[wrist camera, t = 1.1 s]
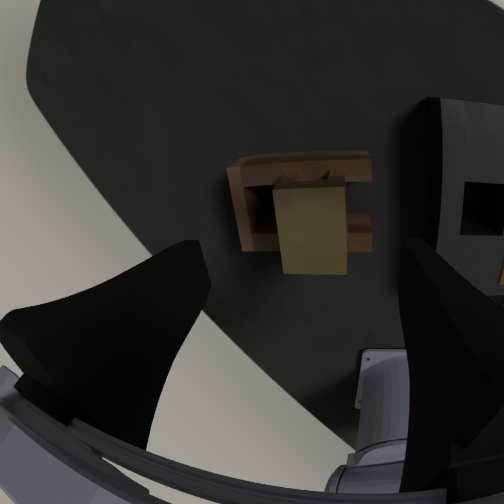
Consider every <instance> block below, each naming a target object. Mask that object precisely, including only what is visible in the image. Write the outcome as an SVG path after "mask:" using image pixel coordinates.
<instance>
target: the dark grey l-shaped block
mask: <svg viewBox="0 0 504 504" xmlns="http://www.w3.org/2000/svg"><path fill="white" fill-rule="evenodd" d="M426 99H427V111H428V127H429V198H428V215H427V228H426V239H425V242H426V243H427V244H428V245H430V246H431V247H432V248H433V249H434V250H435V251H436V252H437V253H438V254H439V255H440V256H441V257H442V258H443V259H444V260H445V261H446V262H448V263H449V264H450V265H451V266H452V267H453V268H454V269H455V270H456V271H457V272H458V273H460V274H461V275H462V276H463V277H464V278H465V279H466V280H468V281H469V282H470V283H471V284H472V285H473V286H475V287H476V288H477V289H478V290H480V291H481V292H482V293H484V294H485V295H486V296H492V295H504V106H502V105H496V104H490V103H483V102H475V101H467V100H458V99H447V98H434V97H426ZM465 182H482V183H489V194H488V203H487V211H486V216H468V215H462V209H463V198H464V184H465Z"/></svg>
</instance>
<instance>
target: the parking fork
mask: <svg viewBox="0 0 504 504" xmlns="http://www.w3.org/2000/svg"><path fill="white" fill-rule="evenodd" d="M330 169H345V172H346V182H362V181H372V168H371V158H370V155H369V152H368V149H348V150H323V151H305V152H290V153H278V154H266V155H256V156H246V157H242V158H240V159H239V160H237V161H236V162H235V163H233V164H232V165H230V166H229V167H227V168H226V170H227V175H228V180H229V185H230V191H231V196H232V201H233V206H234V211H235V216H236V221H237V226H238V231H239V237H240V242H241V247H242V251H281V250H280V243H279V235H278V228H277V221H276V215H264V211H263V205H262V198H261V192H260V186H262V185H276V184H277V183H278V181H279V180H280V179H281V177H282V176H283V175H284V174H285V172H289V171H301V179H302V181H310V180H328V177H329V173H330ZM348 235H349V248H348V252H372V240H373V232H372V224H371V217H370V213H348Z"/></svg>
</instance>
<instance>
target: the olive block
mask: <svg viewBox="0 0 504 504" xmlns="http://www.w3.org/2000/svg"><path fill="white" fill-rule="evenodd" d="M272 193H273V200H274V207H275V214H276V221H277V228H278V235H279V243H280V250H281V258H282V265H283V273H284V274H336V275H347V267H348V248H349V235H348V206H347V187H346V172H345V169H330V173H329V177H328V180H310V181H302V179H301V171H289V172H285V174H284V175H283V176H282V177H281V179H280V180H279V181H278V183H277V184H276V185H275V187H274V188H273V189H272Z"/></svg>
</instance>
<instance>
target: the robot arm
mask: <svg viewBox="0 0 504 504" xmlns="http://www.w3.org/2000/svg"><path fill="white" fill-rule="evenodd" d="M210 288H211V281H210V278H209V275H208V271H207V268H206V264H205V261H204V257H203V254H202V250H201V247H200V243H199V240H184V241H182V242H179V243H177V244H175V245H172V246H171V247H169V248H167V249H165V250H163V251H161V252H159V253H157V254H156V255H154V256H152V257H150V258H149V259H147V260H145V261H143V262H141V263H140V264H138V265H136V266H134V267H132V268H130V269H129V270H127V271H125V272H123V273H121V274H119V275H117V276H116V277H114V278H112V279H109V280H107V281H105V282H103V283H101V284H99V285H97V286H94V287H92V288H90V289H87V290H84V291H82V292H79V293H76V294H74V295H71V296H68V297H65V298H62V299H59V300H55V301H52V302H48V303H44V304H40V305H36V306H30V307H25V308H20V309H15V310H12V311H10V312H9V313H7V314H6V315H5V316H4V318H3V319H2V320H1V321H0V343H1V344H2V346H3V347H4V348H5V350H6V351H7V352H8V354H9V355H10V357H11V358H12V359H13V360H14V362H15V363H16V364H17V365H18V367H19V368H20V369H21V371H22V372H23V375H22V376H21V377H20V378H19V377H18V376H17V375H16V374H15V373H14V372H13V371H11V370H10V369H8V368H7V367H6V366H2V367H1V368H0V488H1V489H2V490H3V491H4V492H5V494H6V495H7V496H8V497H9V498H10V499H11V500H12V501H13V502H14V503H15V504H171V503H169V502H166V501H164V500H161V499H159V498H157V497H154V496H152V495H150V494H149V490H148V489H147V488H145V487H143V486H142V485H140V484H138V483H137V482H135V481H133V480H132V479H130V478H129V477H127V476H126V475H124V474H123V473H122V472H120V471H119V470H118V469H117V468H116V467H114V466H113V465H112V464H110V463H108V462H107V461H105V460H103V459H102V457H104V458H106V459H108V460H110V461H111V462H113V463H115V464H117V465H120V466H122V467H124V468H126V469H128V470H130V471H132V472H135V473H136V474H139V475H141V476H143V477H146V478H148V479H150V480H153V481H155V482H158V483H160V484H163V485H165V486H168V487H170V488H173V489H176V490H179V491H182V492H185V493H187V494H191V495H194V496H196V497H200V498H203V499H206V500H209V501H213V502H216V503H220V504H504V308H503V307H501V306H500V305H498V304H497V303H496V302H494V301H493V300H492V299H490V298H489V297H488V296H486V295H485V294H484V293H482V292H481V291H480V290H478V289H477V288H476V287H475V286H473V285H472V284H471V283H470V282H469V281H468V280H466V279H465V278H464V277H463V276H462V275H461V274H460V273H458V272H457V271H456V270H455V269H454V268H453V267H452V266H451V265H450V264H449V263H448V262H446V261H445V260H444V259H443V258H442V257H441V256H440V255H439V254H438V253H437V252H436V251H435V250H434V249H433V248H432V247H431V246H430V245H428V244H427V243H426V242H425V241H424V240H423V239H422V238H403V248H402V259H401V268H400V277H399V285H398V295H399V309H400V318H401V324H402V329H403V335H404V341H405V348H406V349H366V350H364V351H363V353H362V360H361V368H360V375H359V382H358V388H357V395H356V401H355V407H356V408H358V409H361V411H360V421H359V429H358V437H357V445H356V452H355V453H351V454H348V460H347V465H341V466H339V467H338V468H337V469H336V470H335V472H334V473H333V474H332V475H331V476H330V478H329V480H328V482H327V485H326V488H325V491H324V492H318V491H308V490H299V489H290V488H284V487H277V486H271V485H265V484H260V483H254V482H250V481H245V480H240V479H236V478H231V477H227V476H223V475H219V474H215V473H212V472H208V471H204V470H201V469H198V468H194V467H191V466H188V465H184V464H182V463H179V462H175V461H173V460H169V459H166V458H164V457H161V456H159V455H156V454H153V453H151V452H148V451H146V448H147V443H148V438H149V434H150V429H151V425H152V421H153V418H154V414H155V411H156V407H157V404H158V400H159V398H160V395H161V392H162V389H163V386H164V384H165V381H166V378H167V376H168V373H169V371H170V369H171V366H172V364H173V361H174V359H175V357H176V355H177V353H178V351H179V349H180V347H181V346H182V344H183V342H184V340H185V339H186V337H187V335H188V333H189V332H190V330H191V328H192V326H193V325H194V323H195V321H196V319H197V317H198V316H199V314H200V312H201V310H202V308H203V306H204V304H205V301H206V299H207V296H208V293H209V290H210ZM101 456H102V457H101Z"/></svg>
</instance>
